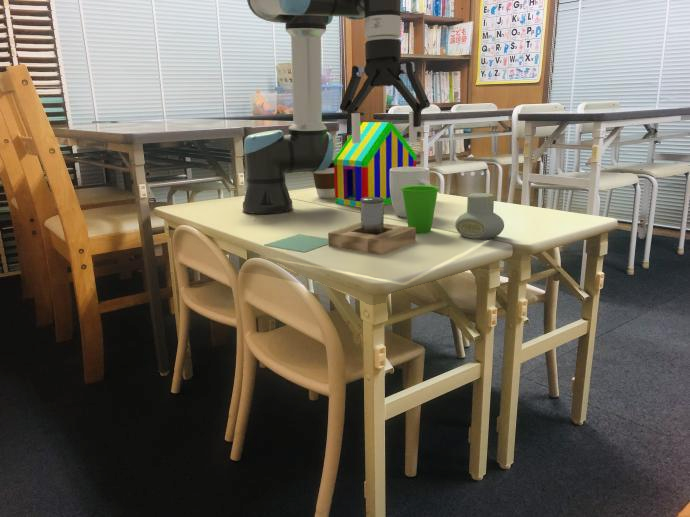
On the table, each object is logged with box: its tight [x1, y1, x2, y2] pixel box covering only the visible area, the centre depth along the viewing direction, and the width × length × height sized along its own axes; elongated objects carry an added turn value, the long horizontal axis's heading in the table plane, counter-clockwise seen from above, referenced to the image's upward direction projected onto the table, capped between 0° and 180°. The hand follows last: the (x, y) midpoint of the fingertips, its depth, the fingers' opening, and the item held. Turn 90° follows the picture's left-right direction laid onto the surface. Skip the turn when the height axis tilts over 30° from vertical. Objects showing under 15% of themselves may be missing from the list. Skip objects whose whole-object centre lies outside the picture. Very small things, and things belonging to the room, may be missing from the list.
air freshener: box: [454, 192, 505, 240], centre depth 126 cm, size 11×8×10 cm
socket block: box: [327, 221, 417, 256], centre depth 122 cm, size 14×14×4 cm
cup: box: [401, 185, 440, 234], centre depth 131 cm, size 9×9×11 cm
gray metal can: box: [360, 197, 385, 235], centre depth 121 cm, size 5×5×10 cm
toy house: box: [333, 121, 417, 208], centre depth 176 cm, size 24×14×25 cm, turn 134°
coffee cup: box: [312, 159, 335, 199], centre depth 187 cm, size 11×11×12 cm
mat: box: [263, 233, 329, 253], centre depth 124 cm, size 12×12×1 cm
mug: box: [390, 166, 433, 219], centre depth 150 cm, size 15×11×13 cm
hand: (383, 143), depth 120 cm, fingers open, 13 cm apart
